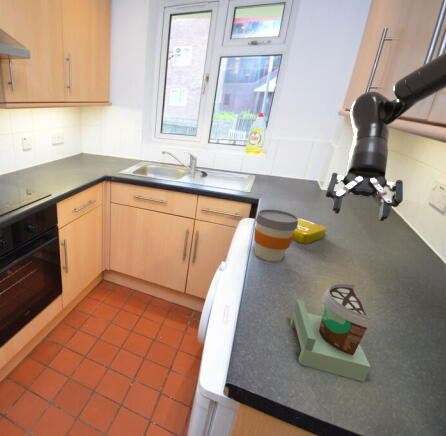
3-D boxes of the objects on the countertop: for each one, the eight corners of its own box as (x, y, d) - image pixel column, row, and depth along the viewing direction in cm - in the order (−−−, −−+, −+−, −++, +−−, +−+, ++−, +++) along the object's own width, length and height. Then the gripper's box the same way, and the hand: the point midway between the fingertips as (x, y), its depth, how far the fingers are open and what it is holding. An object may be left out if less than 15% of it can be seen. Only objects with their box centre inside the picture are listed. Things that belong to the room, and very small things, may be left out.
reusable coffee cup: (293, 266, 97) (305, 224, 92) (253, 262, 99) (262, 220, 94) (281, 248, 109) (291, 210, 103) (245, 245, 111) (253, 207, 105)
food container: (308, 313, 69) (320, 276, 66) (339, 320, 67) (353, 283, 64) (318, 350, 59) (332, 309, 55) (355, 361, 57) (373, 319, 53)
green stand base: (343, 335, 68) (352, 311, 66) (363, 382, 57) (376, 354, 54) (290, 323, 72) (297, 299, 69) (299, 364, 61) (308, 337, 58)
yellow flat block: (325, 237, 119) (328, 226, 118) (305, 245, 112) (308, 233, 110) (289, 224, 131) (292, 214, 129) (268, 230, 124) (271, 220, 122)
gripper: (337, 147, 75) (326, 202, 70) (411, 153, 68) (406, 214, 63) (329, 165, 81) (320, 216, 76) (397, 171, 74) (391, 229, 69)
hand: (359, 215), depth 70 cm, fingers open, 8 cm apart
